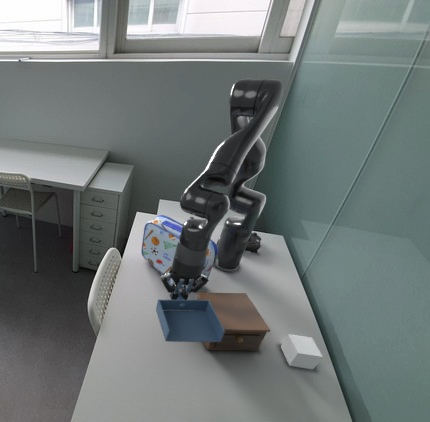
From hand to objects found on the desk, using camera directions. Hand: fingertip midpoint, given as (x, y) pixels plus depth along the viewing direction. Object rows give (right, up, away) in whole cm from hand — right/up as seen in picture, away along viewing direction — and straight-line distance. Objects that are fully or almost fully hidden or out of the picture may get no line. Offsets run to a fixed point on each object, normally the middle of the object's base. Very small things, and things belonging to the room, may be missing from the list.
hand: (177, 299), depth 91 cm
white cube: (+33, -16, -3) cm, 37 cm away
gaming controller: (+46, +12, +41) cm, 62 cm away
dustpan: (0, -2, -2) cm, 3 cm away
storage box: (+16, -11, +5) cm, 20 cm away
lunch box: (+9, +2, +28) cm, 29 cm away
